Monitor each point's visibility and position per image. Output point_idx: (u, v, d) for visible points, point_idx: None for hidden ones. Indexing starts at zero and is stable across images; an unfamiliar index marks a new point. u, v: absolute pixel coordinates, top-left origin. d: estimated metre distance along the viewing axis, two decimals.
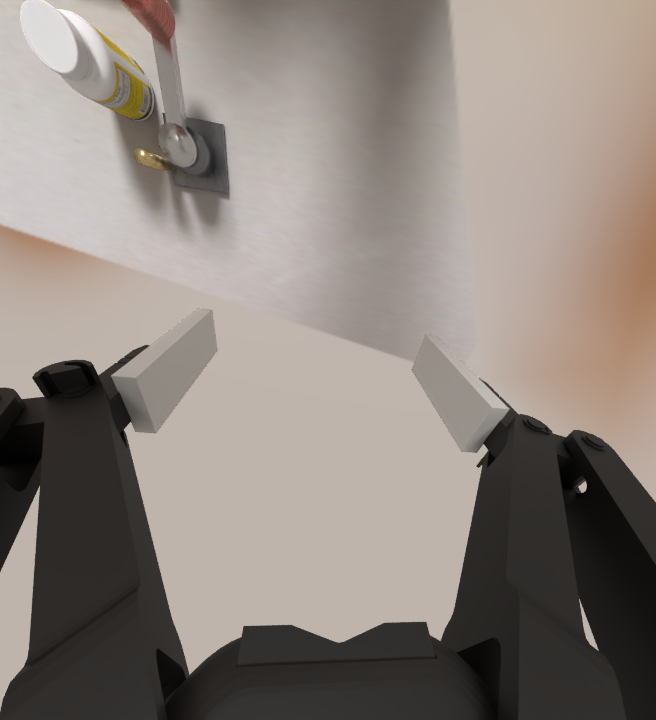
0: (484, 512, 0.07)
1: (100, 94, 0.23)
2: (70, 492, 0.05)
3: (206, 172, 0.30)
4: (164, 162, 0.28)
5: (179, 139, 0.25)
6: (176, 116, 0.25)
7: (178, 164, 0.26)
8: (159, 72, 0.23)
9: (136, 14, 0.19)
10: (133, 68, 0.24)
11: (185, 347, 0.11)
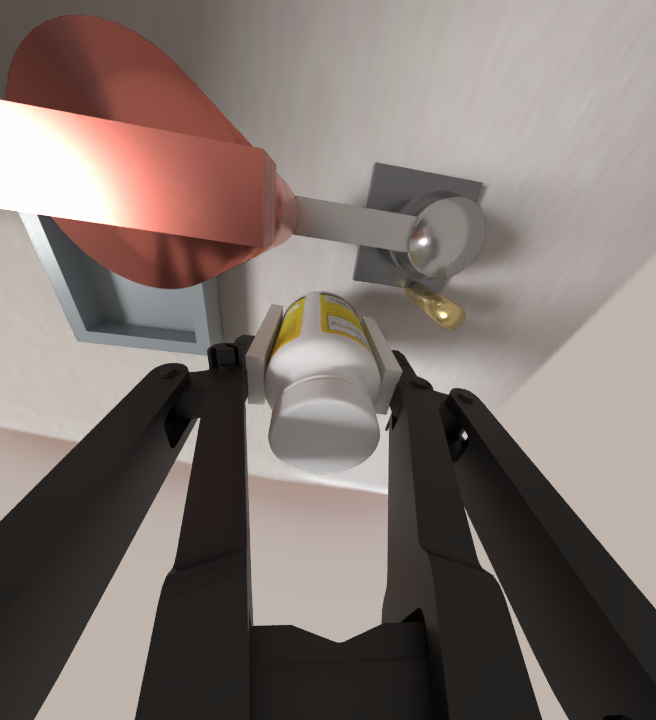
0: (396, 476, 0.08)
1: (378, 378, 0.10)
2: (213, 444, 0.06)
3: None
4: (432, 291, 0.15)
5: (441, 228, 0.11)
6: (400, 225, 0.11)
7: (478, 247, 0.12)
8: (338, 238, 0.12)
9: (288, 217, 0.08)
10: (308, 306, 0.12)
11: (275, 336, 0.13)
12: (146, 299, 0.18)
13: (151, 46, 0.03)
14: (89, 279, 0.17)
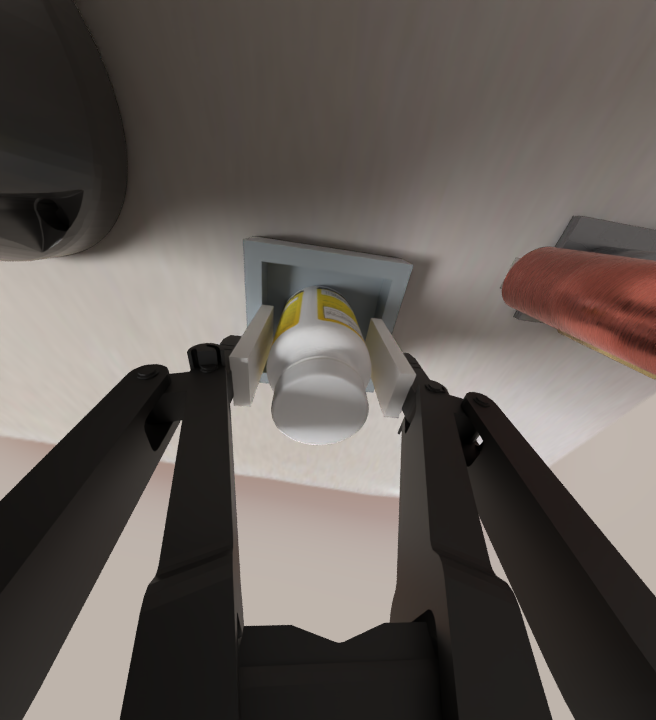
0: (408, 479, 0.08)
1: (369, 361, 0.11)
2: (196, 448, 0.06)
3: None
4: None
5: None
6: None
7: None
8: None
9: None
10: (306, 299, 0.14)
11: (263, 337, 0.12)
12: None
13: None
14: None
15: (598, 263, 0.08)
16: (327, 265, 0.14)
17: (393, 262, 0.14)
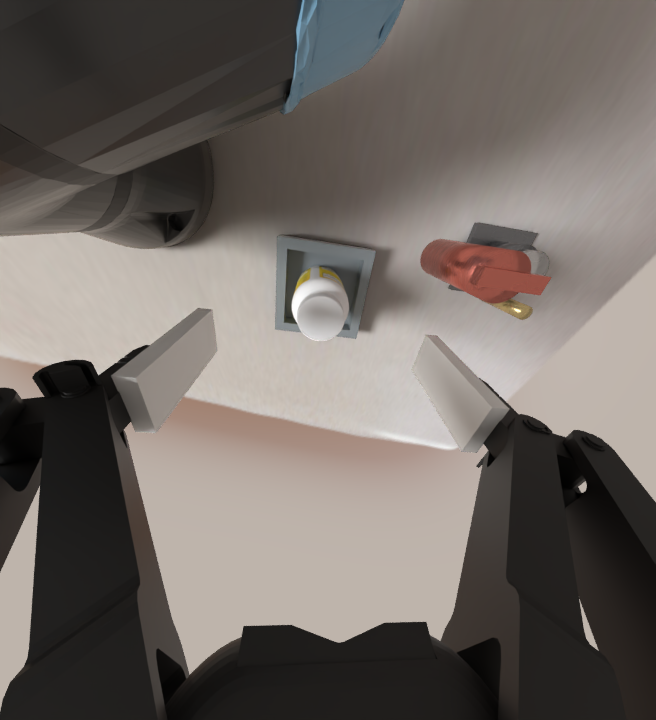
0: (484, 512, 0.07)
1: (347, 300, 0.21)
2: (70, 492, 0.05)
3: None
4: None
5: None
6: None
7: (543, 275, 0.22)
8: None
9: None
10: (312, 270, 0.23)
11: (185, 347, 0.11)
12: None
13: (522, 252, 0.13)
14: (287, 289, 0.27)
15: (448, 245, 0.18)
16: (325, 251, 0.23)
17: (364, 249, 0.24)
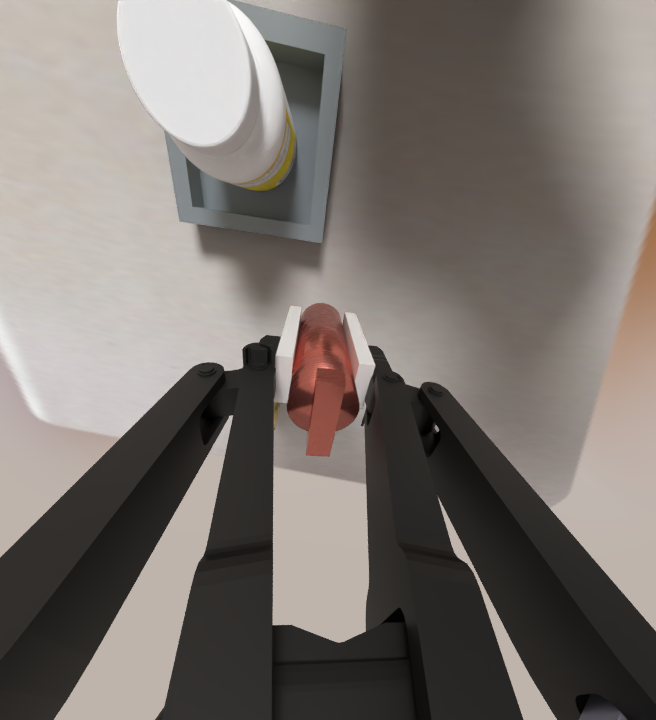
0: (372, 472, 0.08)
1: (248, 175, 0.11)
2: (244, 440, 0.06)
3: None
4: None
5: None
6: None
7: None
8: None
9: None
10: (290, 113, 0.13)
11: (297, 337, 0.13)
12: None
13: (354, 415, 0.10)
14: None
15: (342, 330, 0.14)
16: (321, 150, 0.14)
17: (323, 224, 0.17)
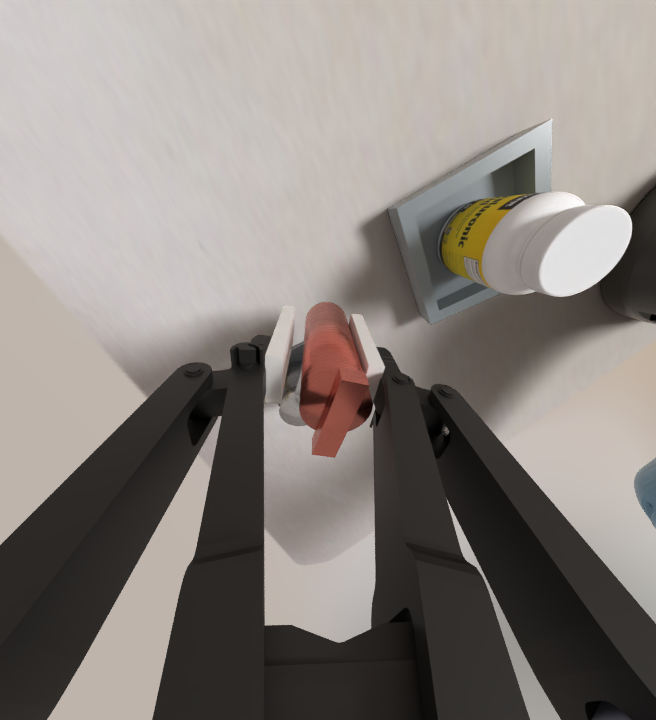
0: (380, 473, 0.08)
1: (497, 286, 0.14)
2: (233, 442, 0.06)
3: None
4: None
5: None
6: None
7: (294, 424, 0.22)
8: None
9: None
10: None
11: (289, 336, 0.13)
12: None
13: (364, 418, 0.10)
14: None
15: (350, 332, 0.14)
16: (488, 291, 0.20)
17: (443, 318, 0.21)
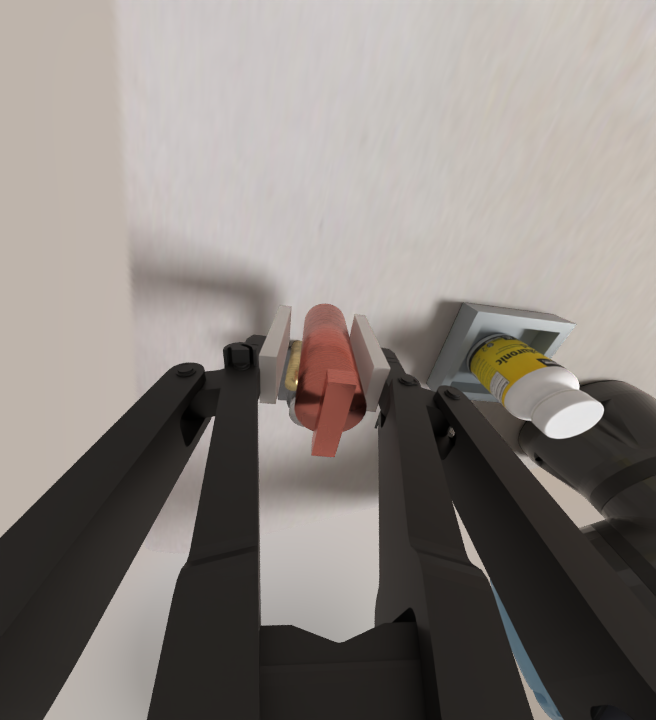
0: (385, 474, 0.08)
1: (511, 405, 0.19)
2: (227, 442, 0.06)
3: None
4: None
5: None
6: None
7: None
8: None
9: None
10: None
11: (284, 336, 0.13)
12: None
13: (360, 417, 0.10)
14: None
15: (347, 332, 0.14)
16: (481, 395, 0.26)
17: None
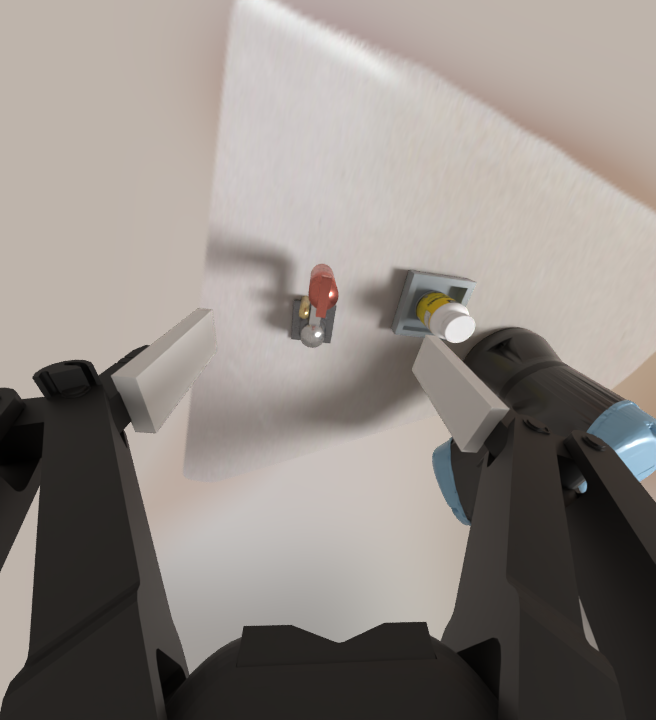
0: (484, 512, 0.07)
1: (432, 327, 0.33)
2: (70, 492, 0.05)
3: None
4: None
5: (315, 334, 0.35)
6: (317, 321, 0.34)
7: (310, 346, 0.36)
8: None
9: None
10: None
11: (185, 347, 0.11)
12: None
13: (336, 301, 0.24)
14: None
15: (333, 275, 0.28)
16: (425, 333, 0.39)
17: (401, 334, 0.39)
